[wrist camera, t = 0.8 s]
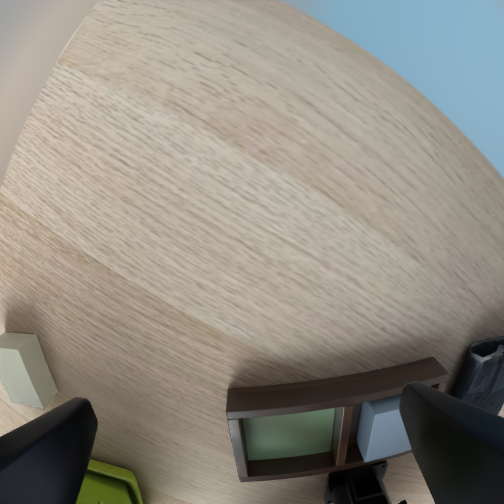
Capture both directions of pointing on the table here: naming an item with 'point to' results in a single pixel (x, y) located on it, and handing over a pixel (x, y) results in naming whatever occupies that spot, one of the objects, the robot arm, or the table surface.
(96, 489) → the flower pot
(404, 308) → the table surface
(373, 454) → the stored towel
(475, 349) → the electronic device
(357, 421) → the shallow rectangular tray
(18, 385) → the cream rectangular block
